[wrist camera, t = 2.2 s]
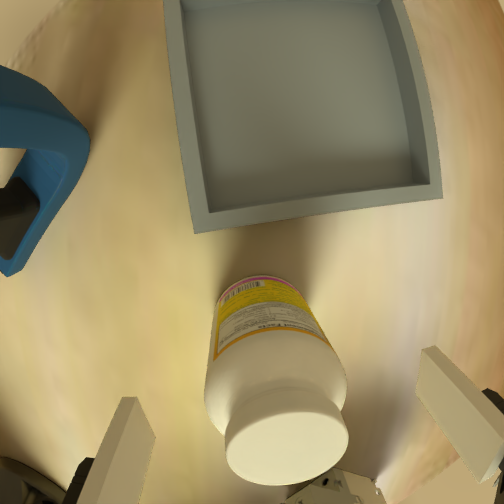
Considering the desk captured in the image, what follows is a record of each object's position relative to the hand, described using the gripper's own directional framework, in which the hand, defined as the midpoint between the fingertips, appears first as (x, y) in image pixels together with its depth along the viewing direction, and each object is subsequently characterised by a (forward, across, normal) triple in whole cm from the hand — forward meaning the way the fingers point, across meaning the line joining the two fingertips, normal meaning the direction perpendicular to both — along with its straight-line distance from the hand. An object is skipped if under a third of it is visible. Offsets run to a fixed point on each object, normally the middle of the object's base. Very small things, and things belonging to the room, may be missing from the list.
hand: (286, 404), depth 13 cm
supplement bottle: (+10, 0, 0) cm, 10 cm away
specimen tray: (+10, +4, +15) cm, 18 cm away
